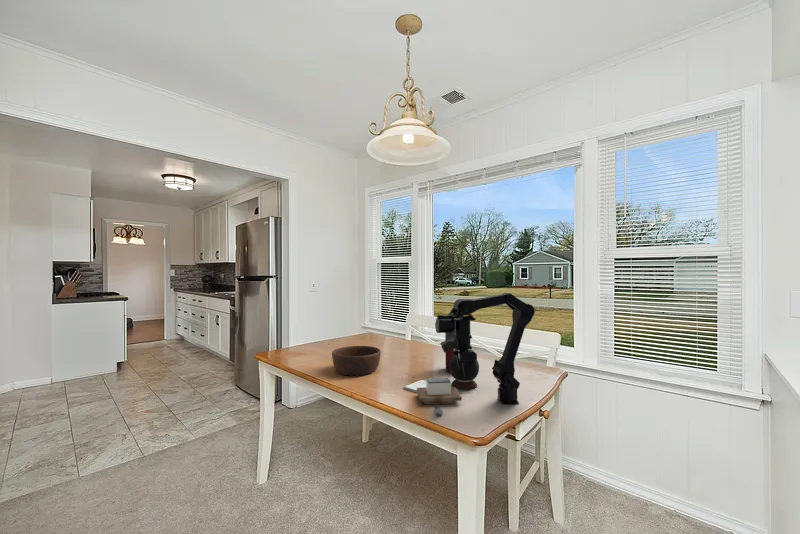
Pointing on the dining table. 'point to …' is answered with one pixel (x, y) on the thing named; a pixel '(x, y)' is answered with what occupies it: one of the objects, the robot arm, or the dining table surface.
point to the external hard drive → (416, 386)
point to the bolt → (438, 411)
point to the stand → (438, 397)
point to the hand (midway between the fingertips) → (463, 372)
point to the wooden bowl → (356, 360)
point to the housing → (438, 386)
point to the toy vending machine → (449, 353)
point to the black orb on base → (460, 379)
